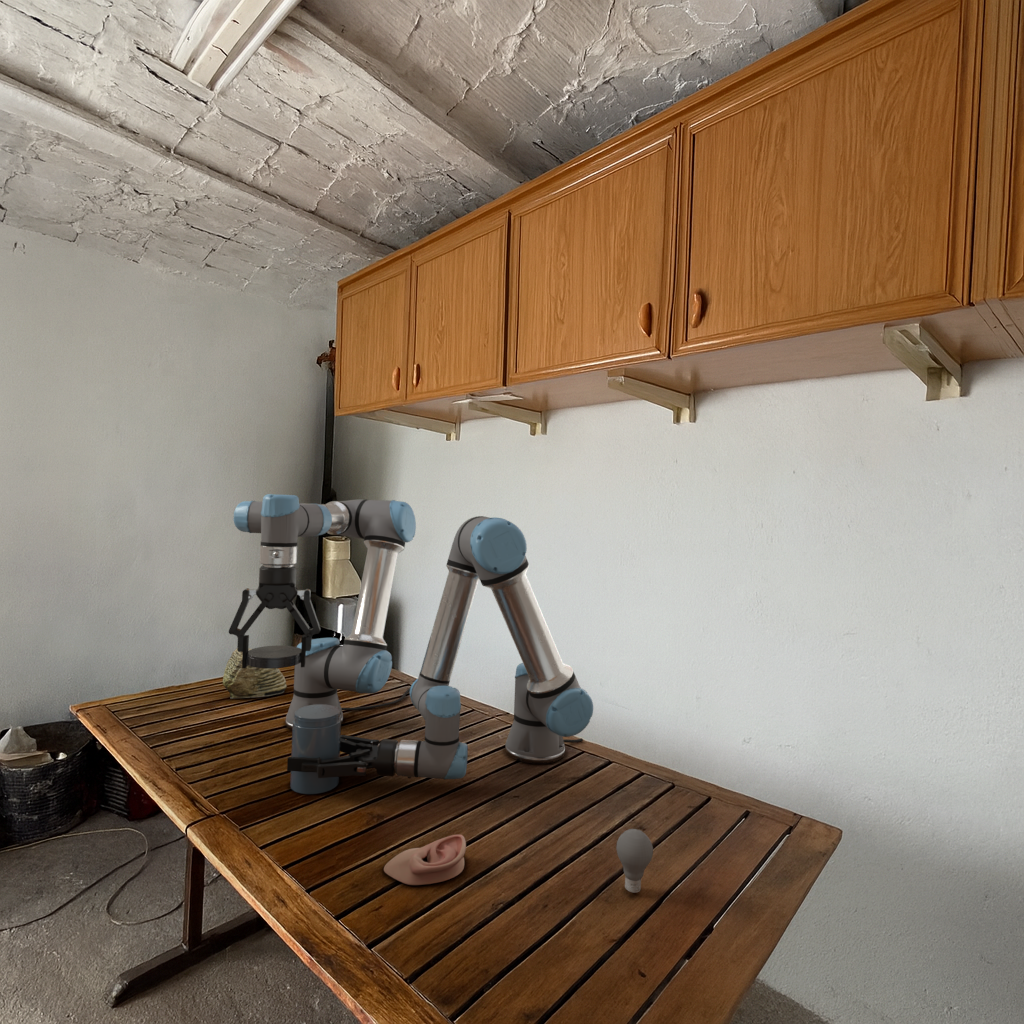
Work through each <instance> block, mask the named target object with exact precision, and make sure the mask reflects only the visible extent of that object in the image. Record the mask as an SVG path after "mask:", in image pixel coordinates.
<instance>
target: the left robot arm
mask: <svg viewBox="0 0 1024 1024" xmlns="http://www.w3.org/2000/svg"><path fill="white" fill-rule="evenodd" d="M232 520H233V524H234V526H235V527H236V529H237V530H238V531H240V532H242V533H248V534H260V549H259V564H260V565H261V566H260V567H259V568H258V569H259V570H258V571H259V572H258V587H257V589H255V588H253V589H250V588H248V587H246V588H244V589H243V590H242V593H241V594H242V595H241V602H240V604H239V606H238V609H237V611H236V613H235V615H234V618H233V620H232V622H231V624H230V627H229V629H228V634H229V635H234V636H235V637H237V645H236V646H237V647H236V649H237V650H238V652H243V654H242V668H246V667H247V666H248V665H247V652H248V648H250V647H249V645H250V635H249V634H247V632H248V631H249V629H250V628H251V627H252V625H253V624H254V623H255V621H257V619H258V618H259V616H260V615H261V613H262V612H263V611H264V610H265V608H266V609H268V610H274V609H278V610H284V609H287V611H288V612H289V613H290V615H291V616H292V618H293V619H294V620H295V622H296V623H297V625H298V626H299V628H300V629H301V630H302V632H303V634H302V636H301V642H299V643H298V644H297V645H296V647H298V648H300V649H301V663H299V664H297V665H294V672H293V695H292V696H293V697H292V699H291V702H290V704H289V708H288V711H287V713H286V715H285V726H286V728H287V729H289V730H292V726H293V720H294V719H295V718H294V713H295V711H296V710H297V709H299V708H301V707H305V706H309V705H318V704H324V705H332V706H335V707H337V708H339V710H340V717H341V724H342V723H343V722H344V714H343V711H361V710H362V711H363V710H370V709H375V708H376V709H377V708H382V707H386V706H390V705H393V704H397V703H399V702H401V701H402V700H403V699H405V698H406V696H407V694H409V693H410V688H411V686H410V687H408V688H407V689H406V691H405V692H404V693H403V694H402V696H401V697H400V698H398V699H396V700H395V699H394V700H393V701H388V702H385V703H379V704H374V705H367V706H358V707H342V706H341V702H340V699H339V695H338V690H339V691H347V692H351V693H353V692H354V693H357V694H369V695H370V694H371V695H372V694H376V693H378V692H380V691H381V690H382V689H383V687H384V686H385V685H386V683H387V682H388V680H389V678H390V675H391V671H392V668H393V656H392V654H391V653H390V652H389V651H388V650H387V647H388V643H386V640H385V639H384V635H385V634H384V633H385V627H386V621H387V617H388V611H389V606H390V600H391V594H392V590H393V583H394V578H395V573H396V567H397V561H398V556H399V554H400V553H402V552H403V551H404V550H405V548H406V543H410V542H412V541H413V540H414V537H415V535H416V529H417V523H416V515H415V513H414V510H413V508H412V507H411V505H410V504H409V503H408V502H406V501H401V500H395V499H391V500H390V499H389V500H385V499H365V498H363V499H362V498H360V499H359V498H358V499H350V500H349V499H348V500H338V501H337V500H332V501H329V502H327V503H325V504H324V503H304V502H303V503H301V502H300V498H299V496H298V495H297V494H295V495H294V494H277V493H276V494H274V493H267V494H265V495H263V498H262V501H259V500H258V501H257V500H243V501H241V502H239V503H238V504H237V505H236V507H234V511H233V519H232ZM326 533H327V534H329V535H332V536H345V537H349V538H354V539H361V540H363V545H364V546H365V547H366V548H367V553H366V557H365V563H364V567H363V571H362V572H363V573H362V578H361V583H360V587H359V593H358V598H357V605H356V608H355V614H354V619H353V623H352V624H353V625H352V628H351V633H350V634H349V635H348V636H346V637H345V638H344V641H343V645H340V644H341V643H340V642H341V641H340V639H339V638H337V637H320V638H319V637H318V638H313V636H314V635H318V634H320V633H321V629H322V628H321V625H320V622H319V619H318V617H317V614H316V611H315V608H314V605H313V603H312V599H311V591H312V590H311V589H309V588H306V589H298V588H297V567H296V566H295V565H296V564H297V562H298V538H299V537H300V538H302V537H303V538H304V537H318V536H322V535H325V534H326ZM255 596H257V598H258V599H259V601H260V602H261V603H260V604H259V605H257V607H256V609H255V610H254V611H253V613H252V614H251V615H250V617H249V618H248V619H247V620H246V622H245V623H244V624H243V626H241V628H239V626H240V623H241V621H242V619H243V616H244V614H245V612H246V610H247V607H248V605H249V603H250V601H251V600H253V598H254V597H255ZM297 596H299V598H300V600H302V601H303V603H304V606H305V609H306V613H307V615H308V618H309V620H310V624H311V626H312V627H310V626H309V623H307V621H306V620H305V618H304V617H303V615H302V614H301V612H300V611H299V610H298V608H297V606H296V604H295V603H294V600H295V598H296V597H297Z"/></svg>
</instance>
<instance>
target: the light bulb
mask: <svg viewBox="0 0 1024 1024" xmlns="http://www.w3.org/2000/svg"><path fill="white" fill-rule="evenodd" d="M615 849H616V854H617V857H618V859H619V861H620V863H621V865H622V867H623V873H624V874H623V875H624V876H625V878H624V888H625V890H627V891H628V892H630V893H634V894H635V893H639V892H640V891H641V889H642V887H641V886H642V879H643V877H644V875H645V871H646V868H647V867H648V866H649V864H650V863H651V861H652V859H653V855H654V847H653V843H652V841H651V838H649V836H648V835H647V834H646V833H645V832H643V831H642V830H641V829H636V828H629V829H627V830H625V831H623V832H622V833H621V834H620V835H619V837H618V839H617V841H616V847H615Z"/></svg>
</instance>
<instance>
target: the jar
mask: <svg viewBox="0 0 1024 1024" xmlns="http://www.w3.org/2000/svg"><path fill="white" fill-rule="evenodd" d="M294 718H295V719H294V720H293V726H292V729H291V754H290V755H291V756H290V757H304V758H319V757H320V758H321V760H326V759H332V758H338V757H341V751H340V739H341V735H342V723H341V717H340V710H339V708H337V707H335V706H332V705H324V704H318V705H309V706H305V707H301V708H299V709H297V710H296V711H295V713H294ZM289 780H290V782H289V783H290V784H289V787H290V789H291V790H292V791H293V792H294V793H298V794H303V795H317V794H322V793H327V792H329V791H332V790H333V789H335V788H336V787H337V786H338V785H339V782H340V777H328V778H318V774H317V772H300V771H290V779H289Z"/></svg>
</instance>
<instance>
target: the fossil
mask: <svg viewBox="0 0 1024 1024" xmlns="http://www.w3.org/2000/svg"><path fill="white" fill-rule="evenodd" d="M251 649H252V648H251V647H249V648H248V651H249V650H251ZM242 654H243V652H238V650H237V648H236V649H235V650H233V651H232V653H231V656H230V657H229V659H228V660H227V663H226V666H225V668H224V671H223V675H222V676H223V677H222V685H223V687H224V688H225V690H226V691H228V693H229V698H230V699H250V698H264V697H271V696H275V695H281V694H284V693H285V691H286V689H287V687H288V686H287V680H286V678H285V676H284V674H283V673H282V672H281V669H280V668H271V669H268V668H256V667H251V666H249V665H248V666H247V667H246V668H242Z"/></svg>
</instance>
